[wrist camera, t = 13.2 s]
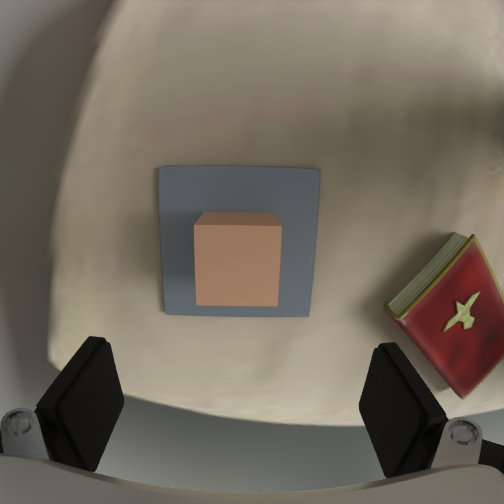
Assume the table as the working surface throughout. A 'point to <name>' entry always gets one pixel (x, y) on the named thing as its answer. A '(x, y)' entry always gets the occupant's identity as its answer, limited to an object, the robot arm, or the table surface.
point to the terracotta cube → (237, 259)
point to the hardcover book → (455, 314)
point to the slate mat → (238, 200)
